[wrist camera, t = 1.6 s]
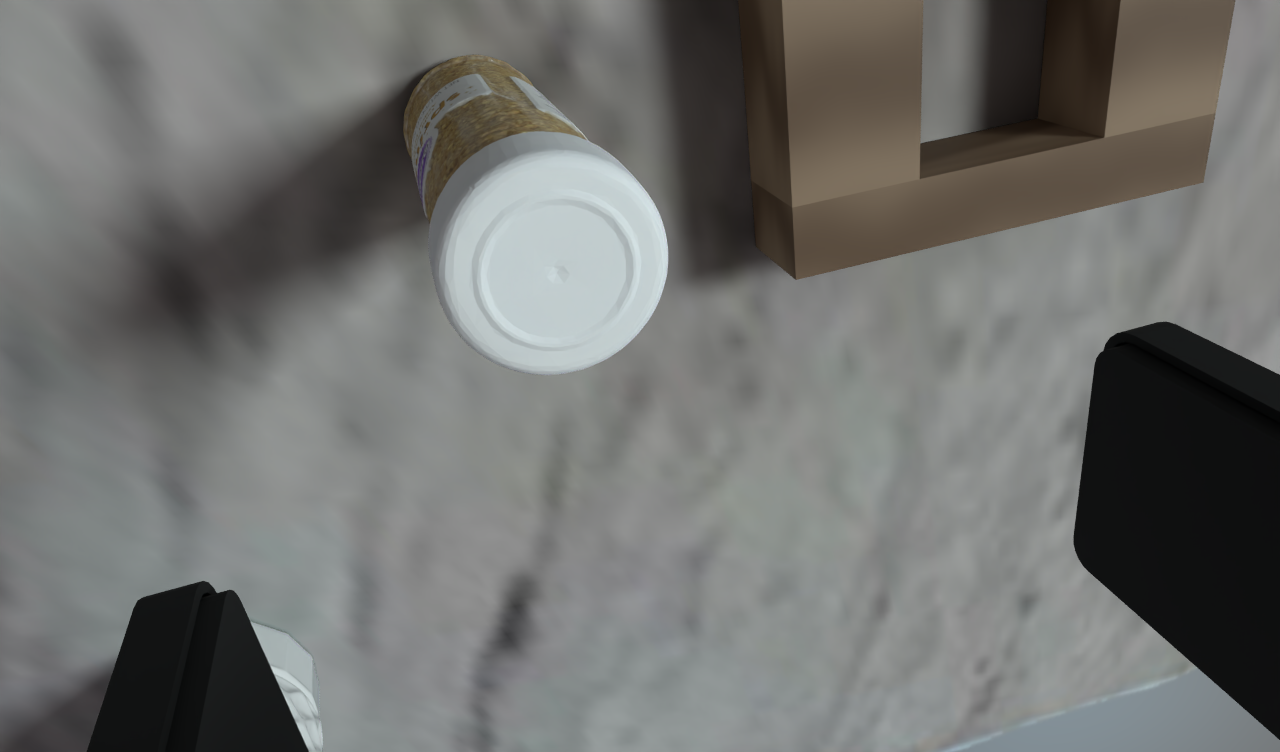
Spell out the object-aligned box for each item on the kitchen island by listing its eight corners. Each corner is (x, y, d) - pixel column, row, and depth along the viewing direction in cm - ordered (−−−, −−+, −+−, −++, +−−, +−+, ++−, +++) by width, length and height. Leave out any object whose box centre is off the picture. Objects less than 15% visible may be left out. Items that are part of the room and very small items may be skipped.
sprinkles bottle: (388, 63, 27) (412, 171, 15) (539, 45, 28) (667, 134, 16) (418, 210, 29) (458, 403, 18) (556, 189, 30) (681, 359, 18)
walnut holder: (729, -127, 27) (775, -133, 24) (1180, -195, 30) (1271, -207, 27) (755, 246, 33) (795, 279, 30) (1132, 160, 36) (1203, 182, 33)
